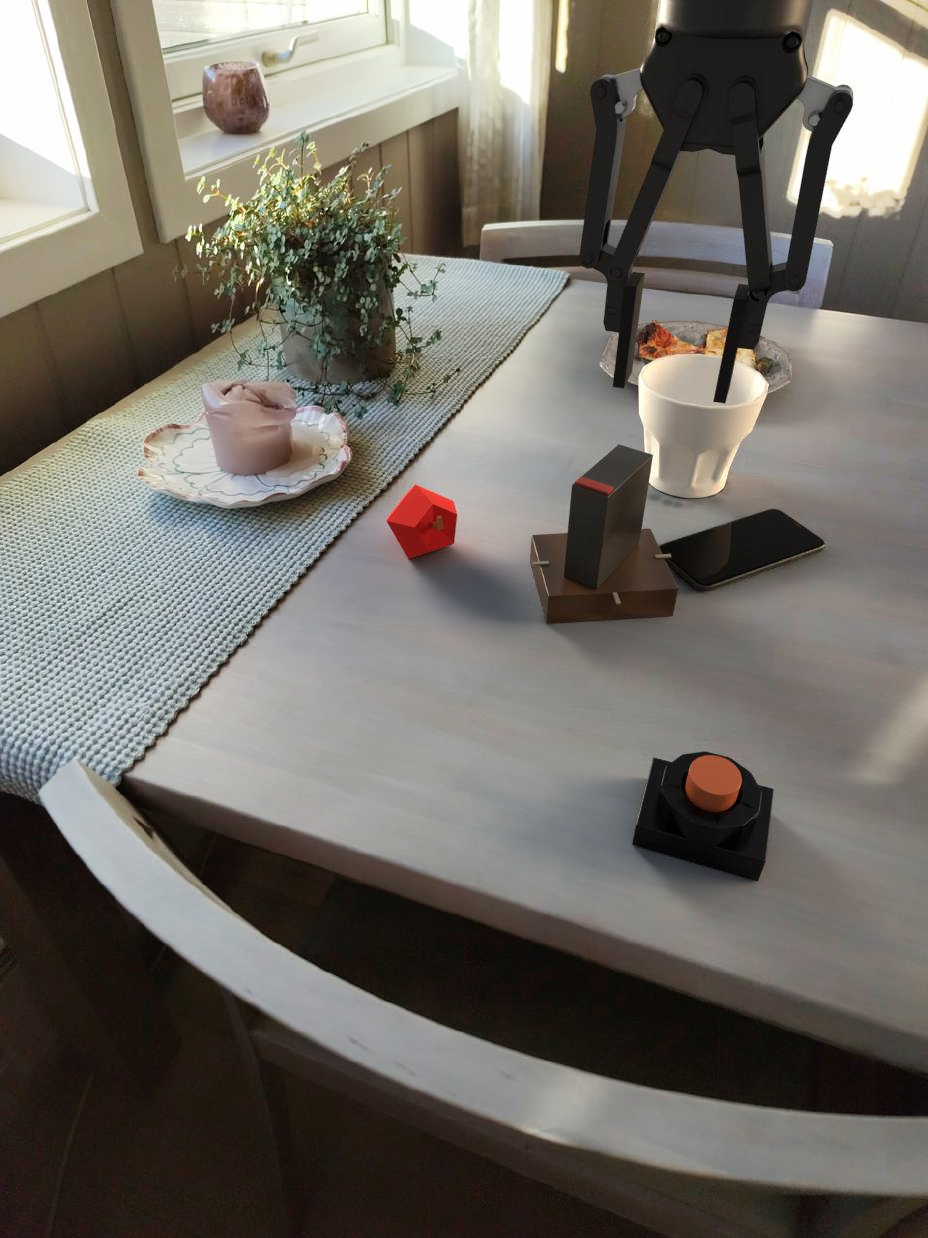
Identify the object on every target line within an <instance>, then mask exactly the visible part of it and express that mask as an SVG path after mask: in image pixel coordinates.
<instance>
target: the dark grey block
mask: <svg viewBox="0 0 928 1238" xmlns="http://www.w3.org/2000/svg"><path fill="white" fill-rule="evenodd" d="M652 460H653V455H652V454H649V453H646V452H645V451H643V450H639V449H636V448H633V447H629V446H626V445H623V444H617V445H616V446H615V447H613V448H612V449H611V450H610V451H609V452H608V453H607V454H605V456H603V457H602V458H601V459H600V460H599V461H598V462H596V464H594V465H593V466H591V468H590V469H588V470H587V471H586V472H584V474H583V475H582V476H579V478H577V479H576V480H575V481H574V482H573V483H572V484H571V490H570V491H571V493H570V502H569V511H568V512H569V513H568V523H567V524H568V525H567V532H566V533H567V544H566V555H565V566H564V577H567V578H569V579H572V580H574V581H577V582H579V583H582V584H584V585H587V586H589V587H592V588H594V589H597V588H598V587H599V586H600V585H601V584H602V583H603V582H604V581H605V580H606V579H607V578H608V577H609V576H610V575H611V574H612V572H613V571H614V570H615V569H616V568H617V567H618V566H619V565H620V564H621V563H622V562H623V561H624V560H625V559H626V558H627V557H628V555H629V554H630V553H631V552H632V551H633V550H634V549H635V548H636V547H637V546H638V545H639V542H640V535H641V529H643V522H644V517H645V509H646V502H647V496H648V491H649V484H650V483H649V478H650V472H651V466H652Z"/></svg>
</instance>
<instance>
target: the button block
mask: <svg viewBox="0 0 928 1238" xmlns="http://www.w3.org/2000/svg"><path fill="white" fill-rule="evenodd" d="M707 755H713V756H719V757H722V758H725V759H727V760H729V761H730V762H732V763H733V764H734V765H735V766H736V767H737V768H738V770H739V771H740V774H741V777H742V782H741V786H740V789H739V792H738V795H737V798H736V801H735V804H734V805H733V806H732V807H731V808H730V809H728V810H726V811H723V812H709V811H705V810H702V809H700V808H698V807H697V806H695V805H694V804H693V803H692V802H691V801H690V800H689V799H688V797H687V795H686V792H685V784H686V780H687V776H688V772H689V768H690V765H691V764H692V762H693V761H694V760H696V759H697V758H699V757H702V756H707ZM774 791H775V789H774V788H772V787H768V786H765V785H761V784H758V782H757V781H756V779H755V777H754V775H753V773H752V772H751V771H750V770H749V769H747V768H746V767H745V766H743V765H742V764H741V763H738V762H737V761H736V760H734V759H733V758H732V757H729V756H725V755H721V754H718V753H714V752H710V751H695V752H689V753H683V754H681V755H679V756H678V757H677V758H675V759H673V761H670V760H665V759H661V758H657V757H652V761H651V764H650V768H649V772H648V776H647V780H646V784H645V788H644V792H643V796H642V800H641V804H640V808H639V811H638V816H637V819H636V824H635V827H634V833H633V836H632V842H631V846H634V847H637V848H641V849H643V850H647V851H651V852H654V853H657V854H661V855H664V856H668V857H672V858H674V859H677V860H682V861H685V862H688V863H692V864H696V865H699V866H702V867H706V868H708V869H713V870H715V871H720V872H723V873H727V874H729V875H734V876H737V877H740V878H744V879H747V880H751V881H754V882H759V880H760V878H761V876H762V873H763V870H764V867H765V865H766V861H767V854H768V847H769V836H770V827H771V819H772V810H773V800H774V793H775V792H774Z"/></svg>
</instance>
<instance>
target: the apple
mask: <svg viewBox="0 0 928 1238" xmlns="http://www.w3.org/2000/svg"><path fill="white" fill-rule="evenodd" d="M398 502H399V503H398V504H396V506H395V507H394V508H393V510H392V511H391V512H390V514H388V516H387V518H386V523H387V524H388V527H389V528H390V530H391V531H392V534H393V535H394V537H395V539H396V540H397V542H398V544H399V546H400V548H401V550H402V551H403V552H404V554H405V556H406V558H407V560H409V559H412V558H416V557H420V556H423V555H426V554H429V553H432V552H435V551H438V550H441V549H444V548H445V549H446V548H448V547H450V546H452V545H454V544H455V541H456V531H457V521H458V512H457V508H456V505H455V501H454V500H452V499H450V498H447V497H445V496H443V495H441V494H438V493H436V492H434V491H431V490H429V489H427V488H425V487H422V486H420V485H418V484H414V485H413V486H412V487H411V488H410V489H409V490H408V491H407V492H406V493H405V495H404V496H403V497H402V498H401V499H400V501H398Z"/></svg>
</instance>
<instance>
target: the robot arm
mask: <svg viewBox="0 0 928 1238" xmlns="http://www.w3.org/2000/svg"><path fill="white" fill-rule="evenodd" d="M814 2H815V0H658V1H657V10H656V19H655V27H654V34H653V40H652V42H651V45H650V48H649V51H648V52H647V54H646V56H645V57H644V59H643V61H642V63H641V66H640V67H636V68H634V69H630V70H627V71H624V72H621V73H616V72H613V71H611V72H610V71H609V72H607V73H605V74H603V75H602V76H600V77H599V78H598V79H596V80H595V81H594V82H593V83H592V84H591V87H590V91H589V93H590V102H591V107H592V113H593V118H594V123H595V136H594V143H593V150H592V157H591V165H590V172H589V180H588V188H587V196H586V204H585V210H584V216H583V217H584V218H583V224H582V225H583V226H582V232H581V233H582V234H581V240H580V247H579V255H578V259H579V260H578V262H579V263H580V265H581V266H582V267H583V268H584V269H594V270H595V271H597V272H599V273H601V274H602V275H603V276H604V278H605V279H606V292H605V293H606V294H605V301H604V302H605V303H604V314H603V321H602V323H603V326H604V327H603V328H604V330H605V332H611V333H619V336H618V345H617V353H616V362H615V370H614V378H612V379H613V380H612V388H617V389H625V388H626V385H627V383H628V382H627V381H628V379H629V377H630V375H631V373H632V368H633V360H634V352H635V345H636V337H637V330H638V324H639V321H640V313H641V307H642V299H643V291H644V282H645V275H646V273H645V272H637V271H633V267H634V265H635V263H636V262H637V258H638V256H639V254H640V251H641V249H642V246H643V244H644V242H645V239H646V237H647V234H648V232H649V230H650V227H651V225H652V223H653V220H654V218H655V215H656V214H657V211H658V209H659V206H660V205H661V202H662V199H663V197H664V195H665V192H666V191H667V188H668V186H669V183H670V181H671V179H672V177H673V173H674V171H675V169H676V167H677V164H678V162H679V160H680V159H681V156H682V154H683V152H689V153H695V152H699V151H700V152H701V151H705V150H711V151H714V152H716V153H718V154H721V155H726V156H727V155H728V156H734V161H735V162H734V164H735V171H736V176H737V181H738V191H739V192H738V193H739V203H740V211H741V212H740V213H741V222H742V234H743V244H744V255H745V256H744V257H745V265H746V266H745V267H746V275H747V276H746V277H747V284H744V283H738V284H737V287H736V290H735V294H734V297H733V299H732V306H731V310H730V315H729V320H728V324H727V326H728V330H727V335H726V340H725V345H724V350H723V355H722V360H721V365H720V370H719V375H718V380H717V385H716V390H715V395H714V400H713V402H718V403H724V404H725V403H726V399H727V395H728V392H729V388H730V384H731V379H732V374H733V370H734V365H735V360H736V355H737V351H738V348H742V349H750V350H754V348H755V347H756V345H757V344H758V342H759V338H760V336H761V334H762V329H763V325H764V320H765V316H766V311H767V308H768V303H769V301H770V299H771V298H772V297H773V296H774V295H776V294H778V293H781V292H782V293H783V292H786V291H790V292H798V291H800V290H802V289H803V288H804V286H806V285H805V284H806V282H807V277H808V273H809V268H810V262H811V256H812V253H813V252H812V251H813V246H814V241H815V235H816V231H817V226H818V220H819V215H820V210H821V205H822V201H823V195H824V190H825V185H826V179H827V176H828V175H827V174H828V169H829V165H830V160H831V154H832V148H833V145H834V143H835V142H836V139H837V138H838V137H839V136H838V135H839V134H840V133H841V130H842V129H843V126H844V125H845V123H846V121H847V119H848V118H849V115H850V114H851V111H852V109H853V106H854V90H853V89H852V87H851V86H849V85H848V84H839V85H837V86H835V85H833V84H831V83H828V82H826V81H823V80H821V79H819V78H817V77H815V76H812V75H810V74H809V65H808V62H807V58H806V52H805V51H806V50H805V43H806V39H807V34H808V31H809V24H810V20H811V15H812V11H813V7H814V6H813V5H814ZM641 91H643V92H644V94H645V96H646V97H647V100H648V102H649V104H650V106H651V109H652V111H653V112H654V114H655V116H656V118H657V120H658V123H659V124H660V127H661V129H662V133H661V135H660V138H659V141H658V143H657V146H656V148H655V151H654V153H653V155H652V158H651V161H650V165H649V167H648V169H647V172H646V174H645V176H644V179H643V182H642V184H641V186H640V189H639V191H638V194H637V196H636V199H635V202H634V204H633V206H632V209H631V211H630V214H629V216H628V219H627V221H626V223H625V226H624V228H623V231H622V234H621V236H620V238H619V241H618V243H617V245H616V247H615V246H613V245H611V244H609V238H610V231H611V225H612V219H613V212H614V206H615V200H616V199H615V198H616V193H617V187H618V179H619V174H620V167H621V161H622V153H623V147H624V140H625V134H626V126H627V125H626V124H627V117H629V116H630V115H631V114H632V113H633V112H634V111H635V108H636V105H637V97H638V94H639V93H640V92H641ZM796 100H799V101H800V102H801V103H802V104H803V107H804V108H803V110H804V111H803V115H802V125H803V127H804V128H805V130H807V131H809V132H810V135H809V139H808V143H807V147H806V153H805V158H804V163H803V168H802V175H801V180H800V186H799V190H798V191H799V192H798V196H797V202H796V208H795V213H794V218H793V219H794V220H793V224H792V230H791V237H790V241H789V248H788V253H787V259H786V261H783V262H780V263H776V264H774V259H773V247H772V246H773V245H772V234H771V221H770V208H769V196H768V184H767V182H768V181H767V171H766V146H765V134H766V133H767V132H768V131H769V130H770V129H771V128H772V127H773V125H775V123H777V121H779V119H780V118H781V116H782V115H783V114H784V113H785V112H787V110H788V109H789V108H790V106H792V105H793V103H794V102H796Z"/></svg>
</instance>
